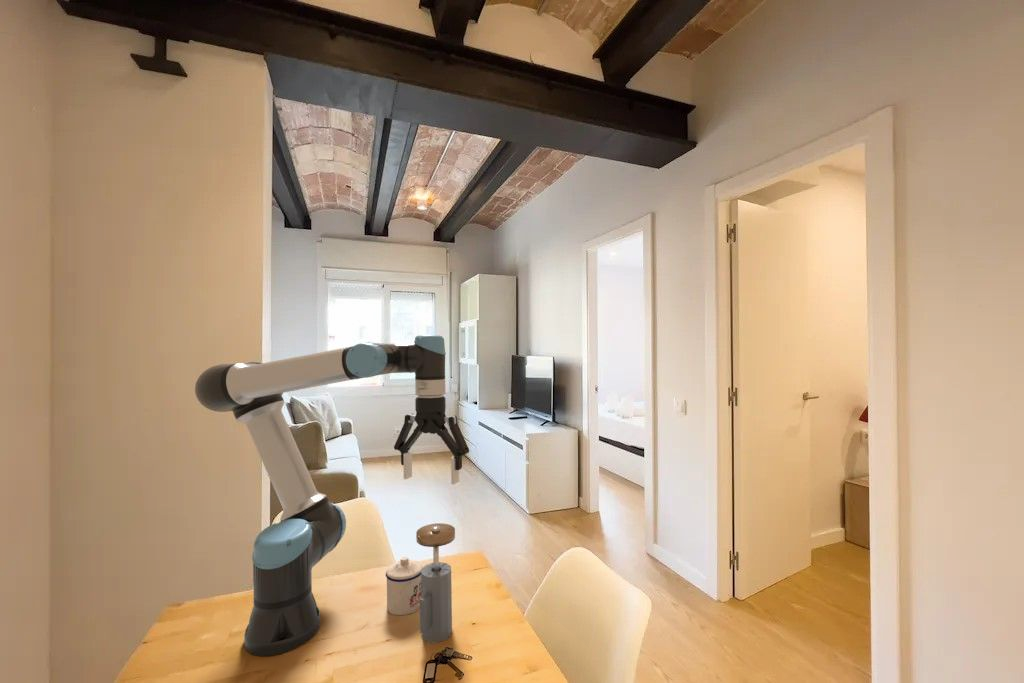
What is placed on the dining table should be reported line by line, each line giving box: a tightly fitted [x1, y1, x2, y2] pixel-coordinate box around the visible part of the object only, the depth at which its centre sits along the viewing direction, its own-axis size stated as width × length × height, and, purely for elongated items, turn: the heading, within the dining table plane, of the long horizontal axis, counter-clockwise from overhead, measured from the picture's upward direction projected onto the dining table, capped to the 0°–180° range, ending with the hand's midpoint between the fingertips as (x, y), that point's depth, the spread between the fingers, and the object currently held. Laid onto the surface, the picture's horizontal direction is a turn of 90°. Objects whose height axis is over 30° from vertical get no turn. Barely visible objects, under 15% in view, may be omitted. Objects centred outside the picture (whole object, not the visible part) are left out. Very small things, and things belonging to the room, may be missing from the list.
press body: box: [419, 561, 453, 643], centre depth 96 cm, size 7×9×14 cm
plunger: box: [415, 523, 456, 572], centre depth 97 cm, size 9×9×14 cm
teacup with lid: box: [385, 556, 424, 616], centre depth 109 cm, size 12×9×12 cm
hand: (431, 480), depth 109 cm, fingers open, 13 cm apart
